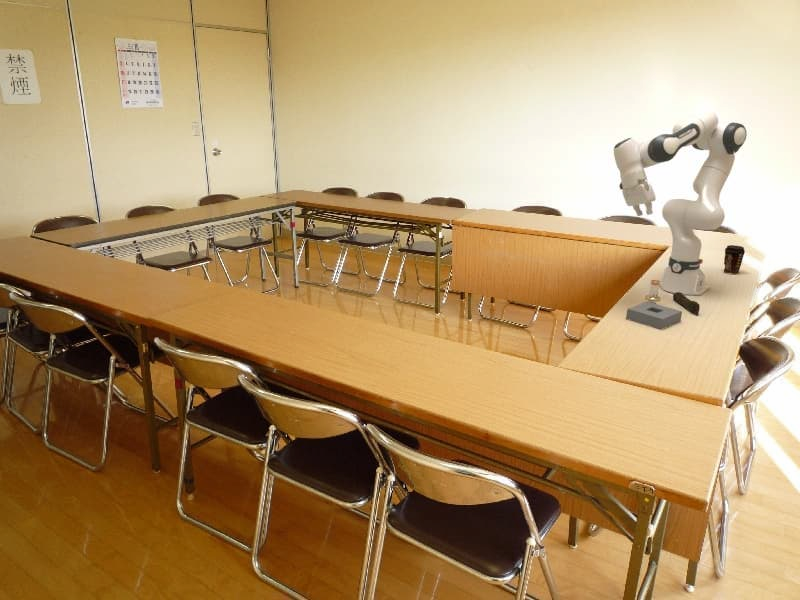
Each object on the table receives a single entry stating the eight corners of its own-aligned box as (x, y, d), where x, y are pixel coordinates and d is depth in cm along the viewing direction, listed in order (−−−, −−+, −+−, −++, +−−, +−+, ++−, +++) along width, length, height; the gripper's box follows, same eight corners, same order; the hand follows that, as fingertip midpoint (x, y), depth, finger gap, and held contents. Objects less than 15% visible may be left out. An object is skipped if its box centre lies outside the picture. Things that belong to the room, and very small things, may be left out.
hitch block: (645, 311, 229) (647, 301, 228) (680, 321, 219) (682, 311, 218) (625, 318, 221) (627, 308, 220) (661, 329, 211) (662, 319, 210)
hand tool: (671, 300, 243) (673, 290, 242) (681, 300, 243) (683, 290, 242) (689, 316, 226) (691, 305, 224) (700, 316, 225) (702, 305, 224)
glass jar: (648, 304, 237) (652, 278, 234) (661, 308, 233) (665, 281, 230) (641, 307, 234) (645, 280, 231) (654, 310, 230) (658, 284, 227)
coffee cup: (725, 269, 290) (730, 243, 286) (743, 273, 284) (748, 247, 280) (717, 272, 284) (722, 246, 280) (735, 276, 278) (741, 249, 274)
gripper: (653, 174, 215) (664, 210, 217) (632, 181, 236) (642, 213, 237) (637, 180, 216) (648, 216, 217) (617, 186, 236) (627, 218, 237)
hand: (645, 215), depth 227 cm, fingers open, 8 cm apart
